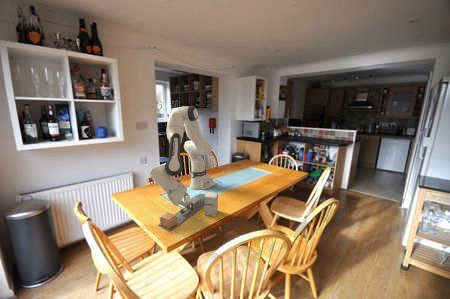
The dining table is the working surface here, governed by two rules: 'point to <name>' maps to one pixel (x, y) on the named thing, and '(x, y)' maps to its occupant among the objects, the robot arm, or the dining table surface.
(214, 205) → the supplement box
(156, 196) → the dining table surface
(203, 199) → the steel sleeve
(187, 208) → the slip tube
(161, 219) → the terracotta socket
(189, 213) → the charcoal board
